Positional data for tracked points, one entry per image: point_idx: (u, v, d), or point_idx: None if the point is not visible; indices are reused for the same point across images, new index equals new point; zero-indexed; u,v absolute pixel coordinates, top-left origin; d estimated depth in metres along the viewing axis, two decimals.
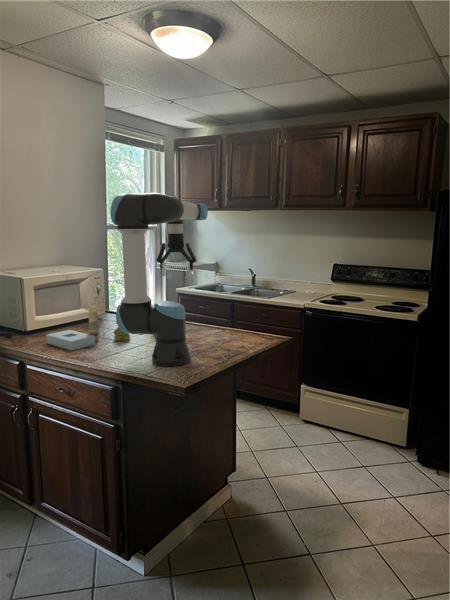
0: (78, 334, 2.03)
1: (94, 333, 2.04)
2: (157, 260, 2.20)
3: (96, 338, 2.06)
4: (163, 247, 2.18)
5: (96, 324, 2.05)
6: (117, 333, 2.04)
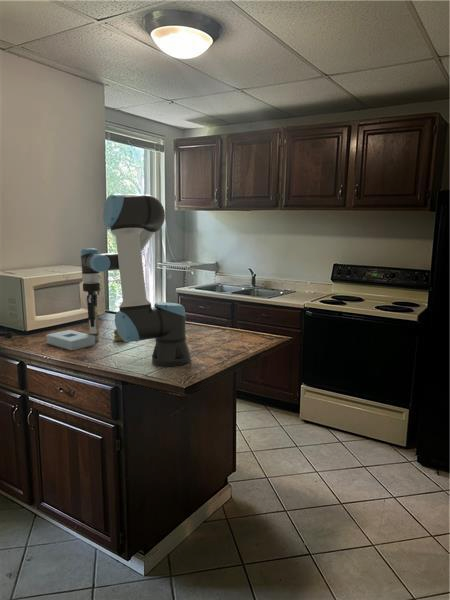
0: (78, 334, 2.03)
1: None
2: None
3: (96, 338, 2.06)
4: None
5: (96, 324, 2.05)
6: (117, 333, 2.04)
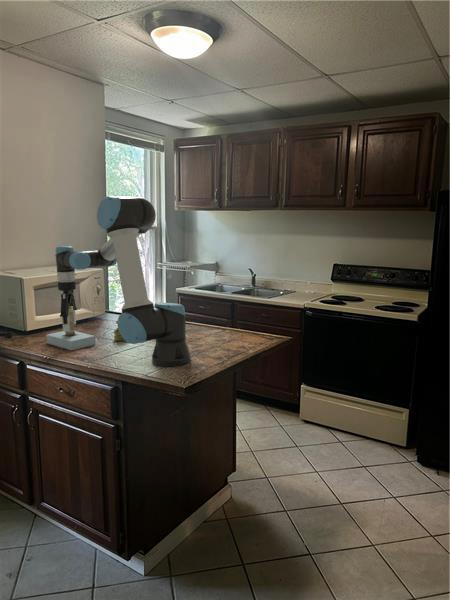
0: (78, 334, 2.03)
1: (70, 333, 1.99)
2: None
3: None
4: None
5: (72, 324, 1.99)
6: (117, 333, 2.04)
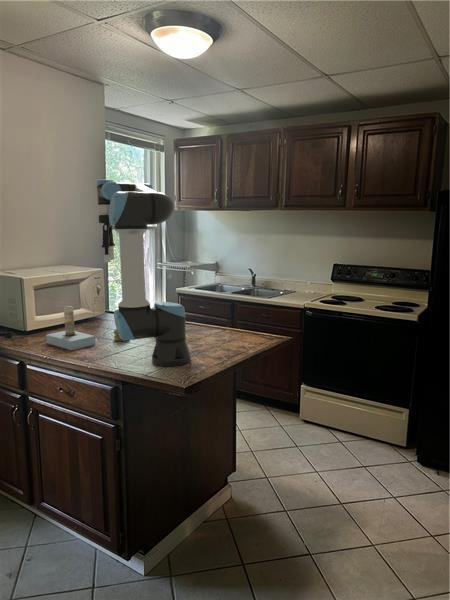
0: (78, 334, 2.03)
1: (70, 333, 1.99)
2: None
3: None
4: None
5: (72, 324, 1.99)
6: (117, 333, 2.04)
